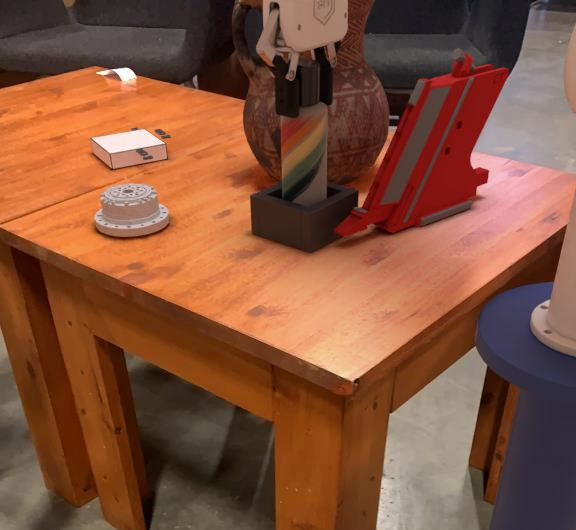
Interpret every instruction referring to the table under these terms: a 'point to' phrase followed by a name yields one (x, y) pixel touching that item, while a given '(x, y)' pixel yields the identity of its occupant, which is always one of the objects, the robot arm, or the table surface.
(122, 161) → the container
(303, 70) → the lotion bottle
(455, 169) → the tool
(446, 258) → the table surface
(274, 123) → the jug
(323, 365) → the table surface
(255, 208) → the holder
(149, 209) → the mechanical component
